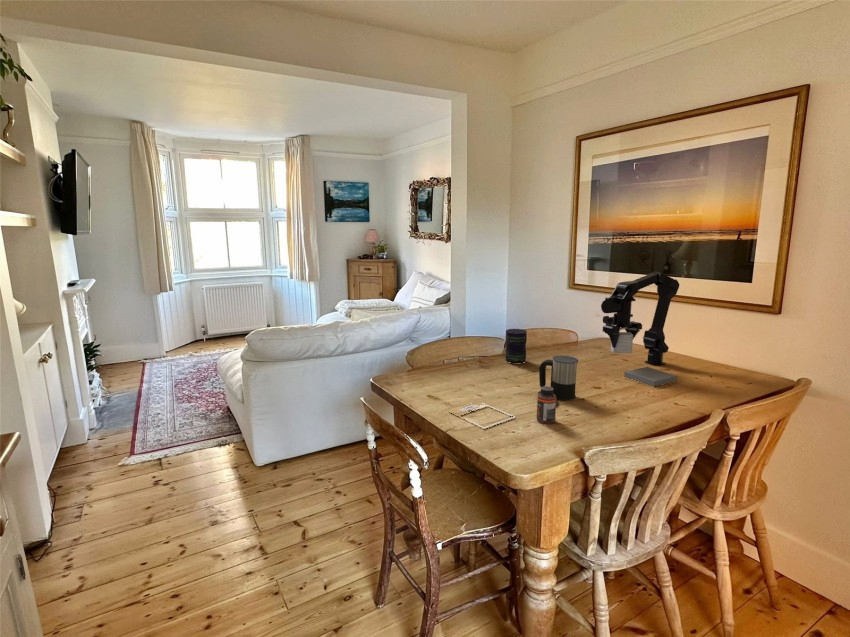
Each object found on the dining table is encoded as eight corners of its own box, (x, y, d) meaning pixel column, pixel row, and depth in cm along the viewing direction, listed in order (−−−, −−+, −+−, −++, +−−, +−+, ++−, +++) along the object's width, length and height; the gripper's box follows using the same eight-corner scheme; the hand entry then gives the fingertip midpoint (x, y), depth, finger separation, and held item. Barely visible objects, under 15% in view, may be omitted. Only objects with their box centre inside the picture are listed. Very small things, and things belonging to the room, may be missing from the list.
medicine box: (628, 351, 202) (630, 332, 201) (631, 353, 198) (633, 334, 196) (610, 350, 204) (611, 331, 202) (612, 353, 199) (614, 334, 198)
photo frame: (478, 400, 165) (515, 416, 151) (478, 403, 166) (515, 419, 151) (447, 410, 157) (484, 427, 143) (447, 413, 157) (484, 431, 143)
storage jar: (510, 357, 223) (511, 327, 220) (529, 360, 217) (530, 330, 214) (501, 362, 215) (502, 331, 212) (520, 365, 209) (521, 334, 206)
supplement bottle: (533, 417, 152) (535, 385, 150) (551, 416, 152) (552, 384, 150) (539, 424, 146) (541, 391, 144) (557, 424, 146) (559, 390, 144)
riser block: (646, 373, 197) (647, 366, 197) (676, 382, 185) (677, 375, 184) (624, 378, 191) (624, 371, 191) (653, 388, 179) (654, 381, 178)
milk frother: (574, 393, 174) (576, 355, 171) (579, 408, 159) (581, 368, 156) (536, 390, 177) (538, 354, 174) (537, 405, 162) (539, 366, 159)
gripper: (623, 307, 209) (620, 340, 212) (593, 310, 200) (591, 345, 203) (644, 310, 199) (641, 345, 202) (614, 314, 191) (612, 350, 194)
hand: (621, 346), depth 200 cm, fingers closed on medicine box, 9 cm apart
